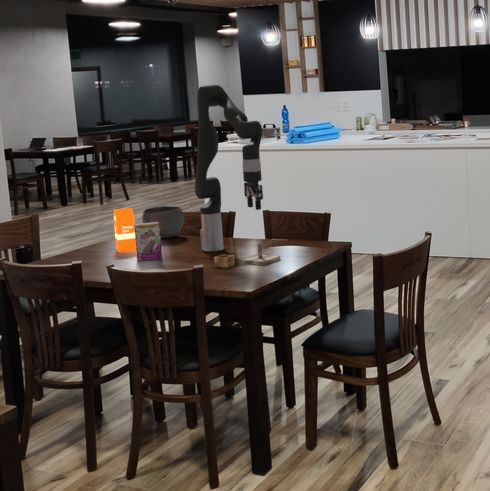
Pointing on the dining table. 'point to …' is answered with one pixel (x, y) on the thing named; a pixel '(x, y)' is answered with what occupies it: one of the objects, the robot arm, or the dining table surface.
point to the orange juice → (124, 230)
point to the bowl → (165, 219)
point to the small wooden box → (224, 261)
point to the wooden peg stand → (260, 258)
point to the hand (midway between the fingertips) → (254, 208)
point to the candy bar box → (148, 241)
